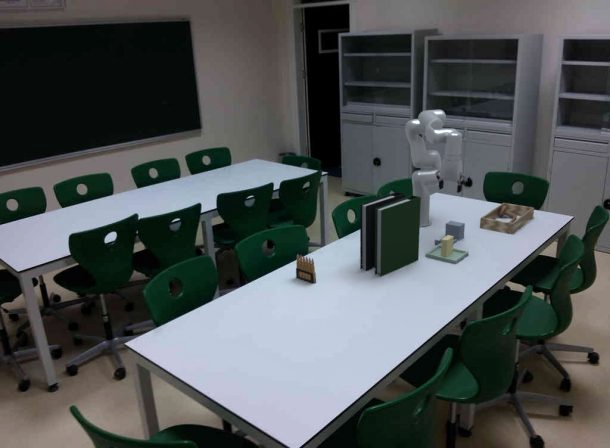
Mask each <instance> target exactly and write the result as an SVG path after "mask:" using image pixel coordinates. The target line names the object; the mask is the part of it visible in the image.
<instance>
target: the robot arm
mask: <svg viewBox="0 0 610 448" xmlns="http://www.w3.org/2000/svg"><path fill="white" fill-rule="evenodd" d="M446 121H447V116H446V113H445V111H444V110H442V109H429V110H428V109H427V110H423V111H421V112H420V113H419V114H418V117H417V118H414V119H410V120H408V121H407V122H406V123H405V127H404V129H405V136H406V139H407V140H408V143H409V147H410V156H411V162H412V166H413V167H414V168H418V169H419V170H415V171H414V172H412V174H411V182H412V195H413V196H418V197H421V203H420V227H424V228H425V227H428V226H430V225H432V224H433V223H432V220H431V219H430V206H431V205H430V203H431V202H430V201H431V194H430V191H429V190H428V188H427V187H435V186H438V189H439V190H442V189H444V182H445V181H450V182H456V183H457V184H458V185H457V188H456V193H457V194H459V193H461V192H462V190H463V185H464V184H465V183H466V182H467V180H469V179H468V178H469V177H468V176H467V175H466V174H464V173H463V163H462V159H461V154H462V153H461V152H462V142H463V134H462V133H461V132H459V131H458V129H456V128H443V127H444V125H445V123H446ZM421 135H425V139H426V140H427V142H429V143H430V144H431V145H434V146H438V145H445V148H444V153H442V157H443V159H442V158H441V155H440V153H439V151H438V150H434V149H428V150H427V146H426V142H425V140H424V139H423V137H421ZM422 168H424V169H422ZM425 168H428V169H425ZM429 168H431V169H429ZM462 178H463V180H462Z"/></svg>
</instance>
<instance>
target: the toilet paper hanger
mask: <svg viewBox="0 0 610 448" xmlns="http://www.w3.org/2000/svg"><path fill="white" fill-rule="evenodd" d="M506 208H507V206H505V205H504V206H503V208H502V209H501V211H500V213H499V216H498V217H497V218H502V217H503V216H507V217H508V218H511V220H509V223H513V222H514V221H515V220H517V218H518V215H515V214H513V213H511V212H508V211H507V210H506Z"/></svg>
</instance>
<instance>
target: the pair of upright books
mask: <svg viewBox="0 0 610 448" xmlns="http://www.w3.org/2000/svg"><path fill="white" fill-rule="evenodd" d="M420 203H421V197H418V196H413V194H412V195H409V196H406V193H403V192H399V191H394V192H392V193H389V194H387V195H384V196H380V197H378V198H375V199H372V200H370V201H367V202H364V203H360V204H359V207H360V208H359V226H360V227H359V231H360V232H359V233H360V234H359V236H360V237H359V240H360V241H359V243H360V245H359V246H360V247H359V249H360V250H359V252H360V253H359V255H360V258H359V261H360V263H359V264H360V266H359V267H360V270H363V269H365V272H368V271H370V270H372V269H374V275H375V276H376V275H377V274H380V278H381V277H384V276H386V275H388V274H391V273H393V272H395V271H398V270H399V269H403V268H405V267H406V266H409V265H410V264H413V263H415V262H418V261H419V258H420V257H419V256H420V255H419V253H420Z"/></svg>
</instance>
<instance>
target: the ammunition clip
mask: <svg viewBox="0 0 610 448" xmlns="http://www.w3.org/2000/svg"><path fill="white" fill-rule="evenodd" d="M295 263H296V268H295V278H296V279H298V280H301V281H303V282H307V283H310V284H316V283H317V277H316V276H317V275H316V269H315V268H316V267H315V261H314V258H311V257H308V256H307V255H306V256H305V255H303V256H302V254H300V255H299V253H297V255H296V262H295Z"/></svg>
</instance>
